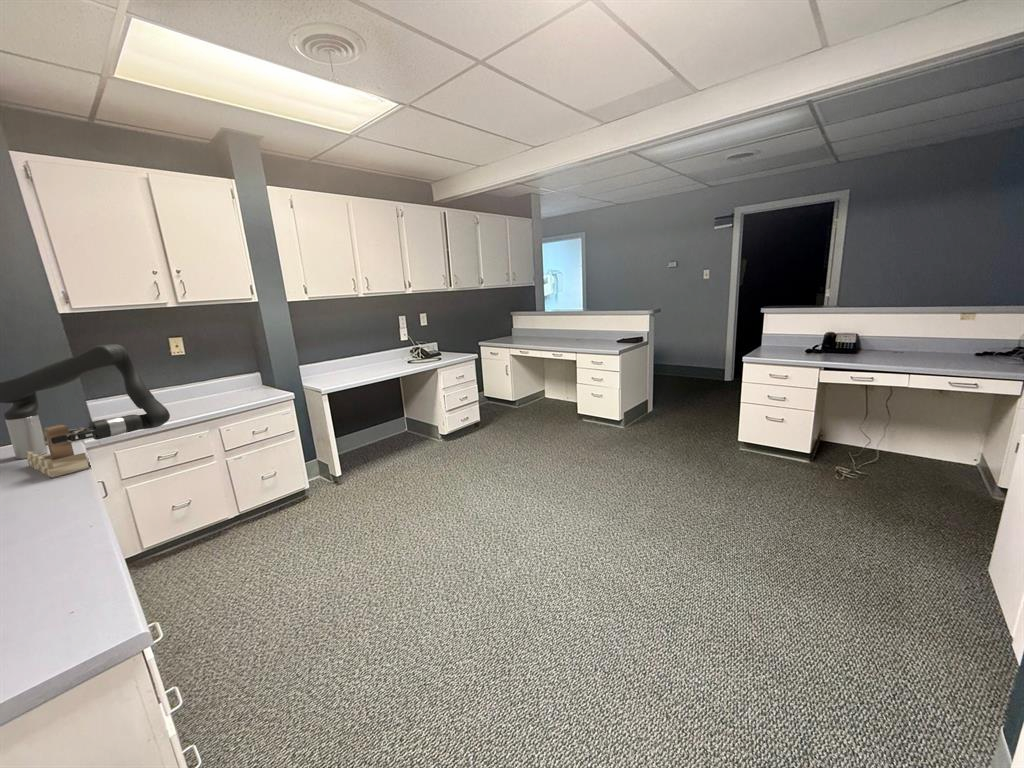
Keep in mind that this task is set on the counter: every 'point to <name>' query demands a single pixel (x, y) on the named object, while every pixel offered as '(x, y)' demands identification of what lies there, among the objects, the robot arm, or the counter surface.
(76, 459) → the box
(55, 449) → the walnut block
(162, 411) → the robot arm
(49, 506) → the counter surface
